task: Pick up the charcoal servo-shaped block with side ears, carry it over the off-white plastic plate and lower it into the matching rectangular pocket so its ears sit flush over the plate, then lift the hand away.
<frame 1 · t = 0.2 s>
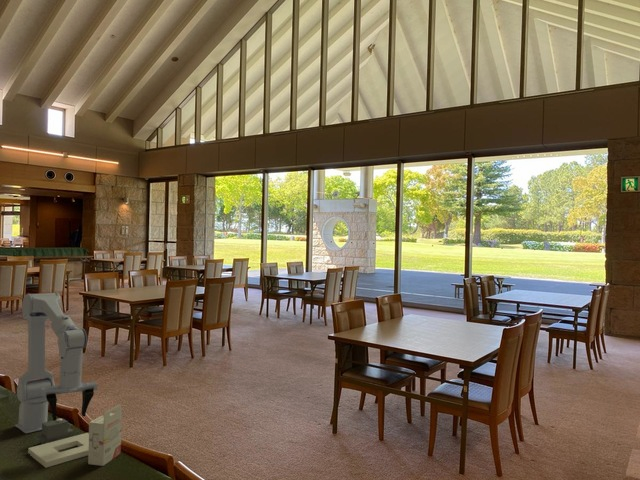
hand: (69, 417, 145), 10 cm above the table, tool pointing down, fingers open, 7 cm apart
ink cartridge box: (104, 459, 140), on the table
servo block: (54, 442, 151), on the table
pocket plate: (68, 451, 145), on the table
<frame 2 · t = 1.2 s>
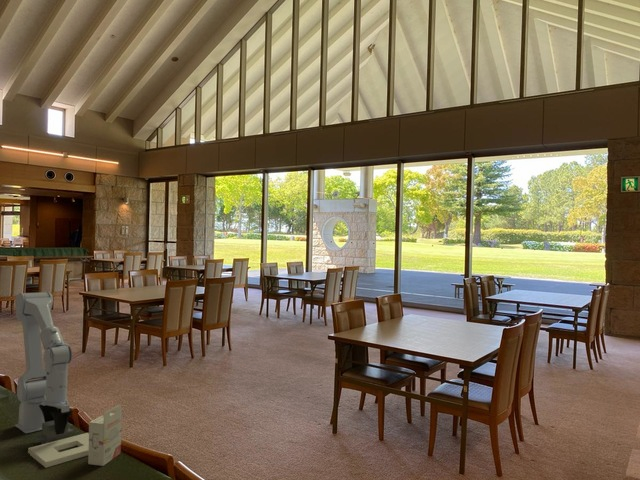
hand: (54, 430, 151), 3 cm above the table, tool pointing down, fingers open, 7 cm apart
nothing on the table moved.
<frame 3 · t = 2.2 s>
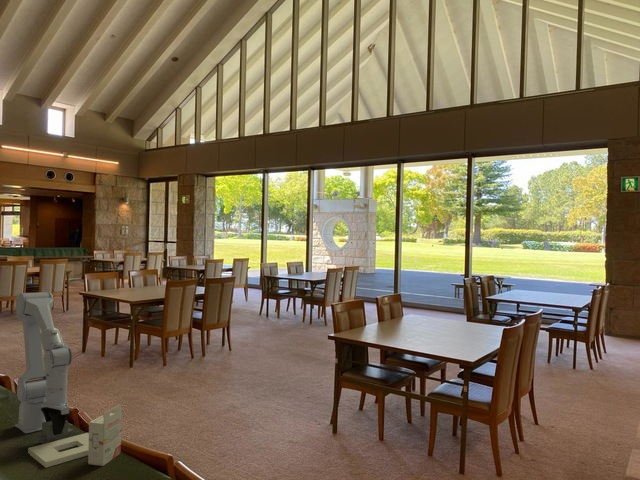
hand: (54, 432, 151), 3 cm above the table, tool pointing down, fingers closed on servo block, 4 cm apart
servo block: (54, 441, 151), on the table, touching gripper
everything else where it was.
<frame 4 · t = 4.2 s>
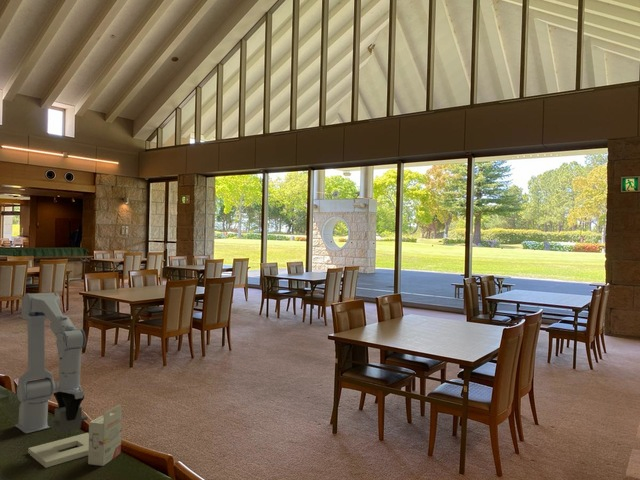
hand: (68, 417, 145), 10 cm above the table, tool pointing down, fingers closed on servo block, 4 cm apart
servo block: (67, 428, 145), point 6 cm above the table, touching gripper
everything else where it was.
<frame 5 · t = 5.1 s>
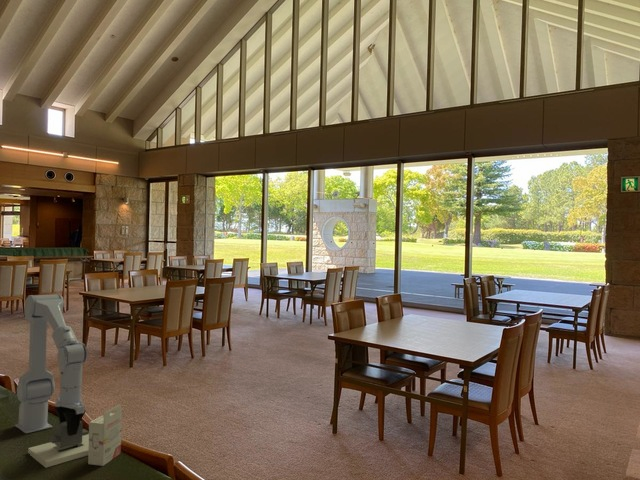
hand: (69, 432, 145), 6 cm above the table, tool pointing down, fingers closed on servo block, 4 cm apart
servo block: (68, 443, 145), point 2 cm above the table, touching gripper
everything else where it was.
when the fingers open (3 cm above the table, at t = 5.9 s): servo block stays where it is, resting in pocket plate.
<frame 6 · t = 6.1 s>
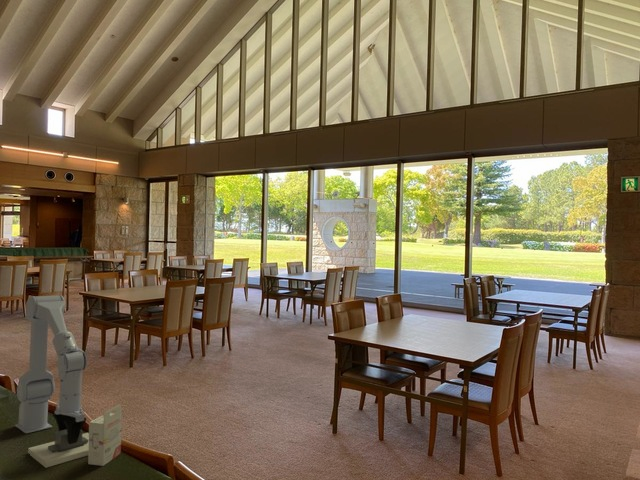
hand: (68, 440, 145), 3 cm above the table, tool pointing down, fingers open, 5 cm apart
servo block: (68, 451, 145), resting in pocket plate
everything else where it was.
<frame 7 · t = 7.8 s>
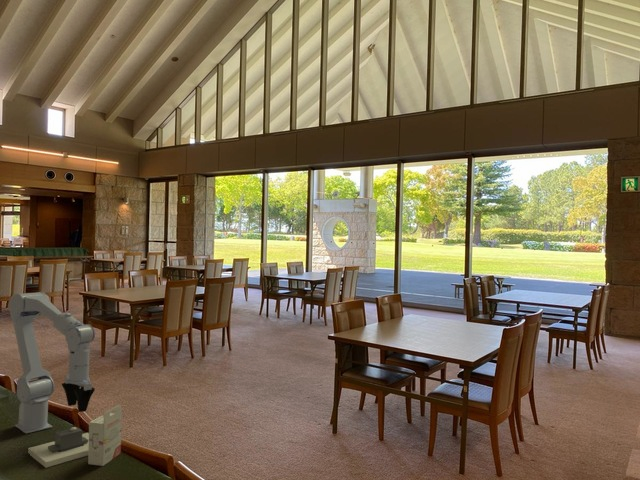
hand: (77, 408, 155), 9 cm above the table, tool pointing down, fingers open, 7 cm apart
nothing on the table moved.
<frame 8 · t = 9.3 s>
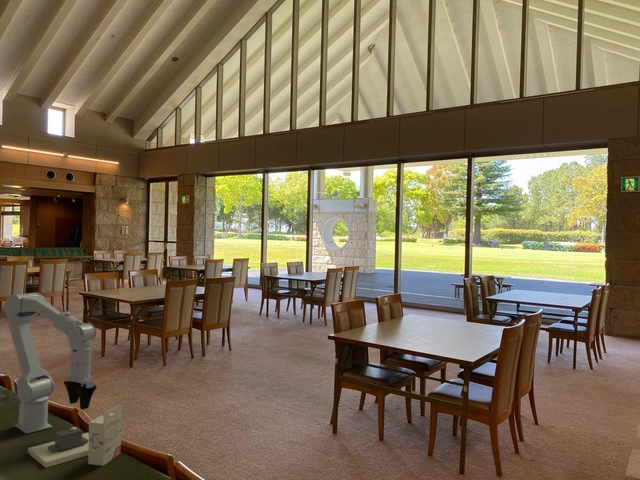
hand: (79, 405, 157), 9 cm above the table, tool pointing down, fingers open, 7 cm apart
nothing on the table moved.
at the end: servo block 0.0 cm off-centre on the pocket plate, point 0.0 cm above the pocket plate's base; servo block tilted 0°; the gripper is holding nothing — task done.
